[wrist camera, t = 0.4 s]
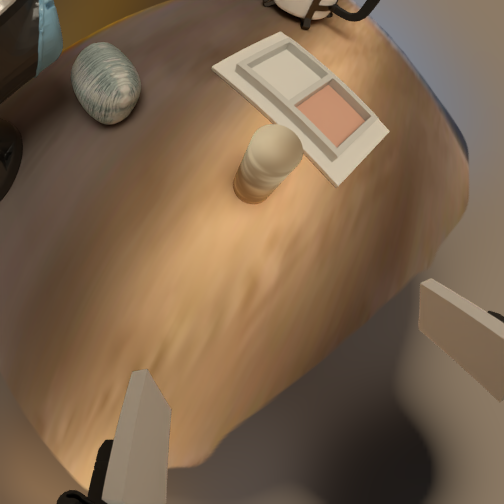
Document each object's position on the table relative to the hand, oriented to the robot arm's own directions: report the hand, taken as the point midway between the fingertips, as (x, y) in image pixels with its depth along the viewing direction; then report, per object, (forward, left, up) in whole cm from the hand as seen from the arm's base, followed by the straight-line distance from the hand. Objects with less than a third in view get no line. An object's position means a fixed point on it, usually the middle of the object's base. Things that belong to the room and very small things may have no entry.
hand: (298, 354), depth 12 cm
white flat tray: (-14, +30, -24) cm, 41 cm away
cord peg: (-9, +13, -24) cm, 29 cm away
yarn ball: (-34, +8, -24) cm, 42 cm away
